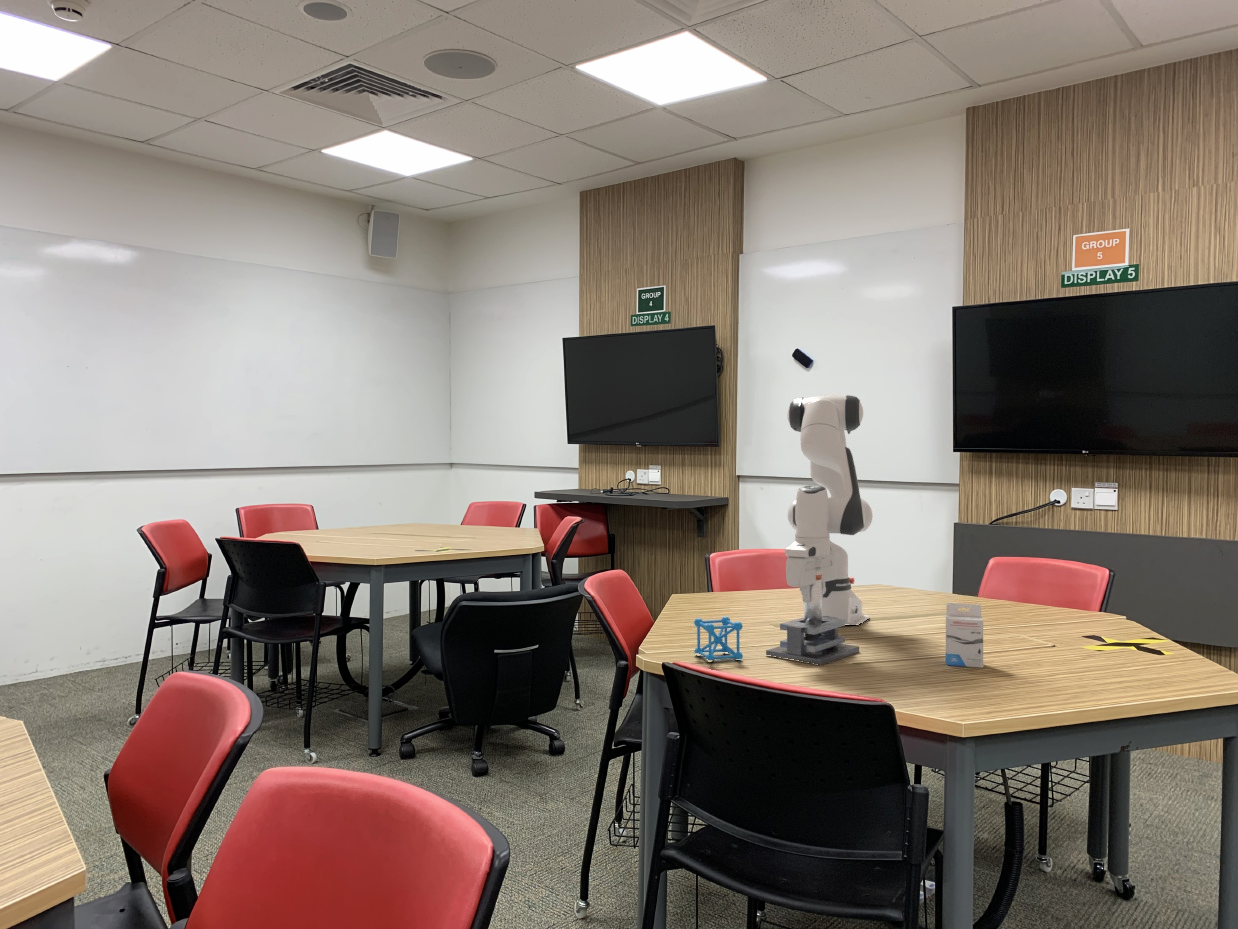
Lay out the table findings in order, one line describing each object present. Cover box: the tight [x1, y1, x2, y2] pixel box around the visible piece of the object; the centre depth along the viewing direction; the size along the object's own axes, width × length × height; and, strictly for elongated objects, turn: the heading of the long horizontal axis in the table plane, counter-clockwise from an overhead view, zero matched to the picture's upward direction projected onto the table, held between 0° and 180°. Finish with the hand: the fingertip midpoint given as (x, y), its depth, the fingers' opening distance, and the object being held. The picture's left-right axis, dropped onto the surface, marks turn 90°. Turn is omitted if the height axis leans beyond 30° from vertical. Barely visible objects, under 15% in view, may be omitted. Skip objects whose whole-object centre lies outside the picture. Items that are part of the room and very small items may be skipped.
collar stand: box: [765, 616, 860, 666], centre depth 224 cm, size 20×16×8 cm
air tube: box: [803, 567, 822, 637], centre depth 224 cm, size 5×5×18 cm
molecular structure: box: [693, 616, 744, 661], centre depth 221 cm, size 10×10×10 cm
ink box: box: [945, 602, 984, 669], centre depth 212 cm, size 9×5×15 cm, turn 71°
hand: (812, 600), depth 224 cm, fingers closed on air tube, 4 cm apart
